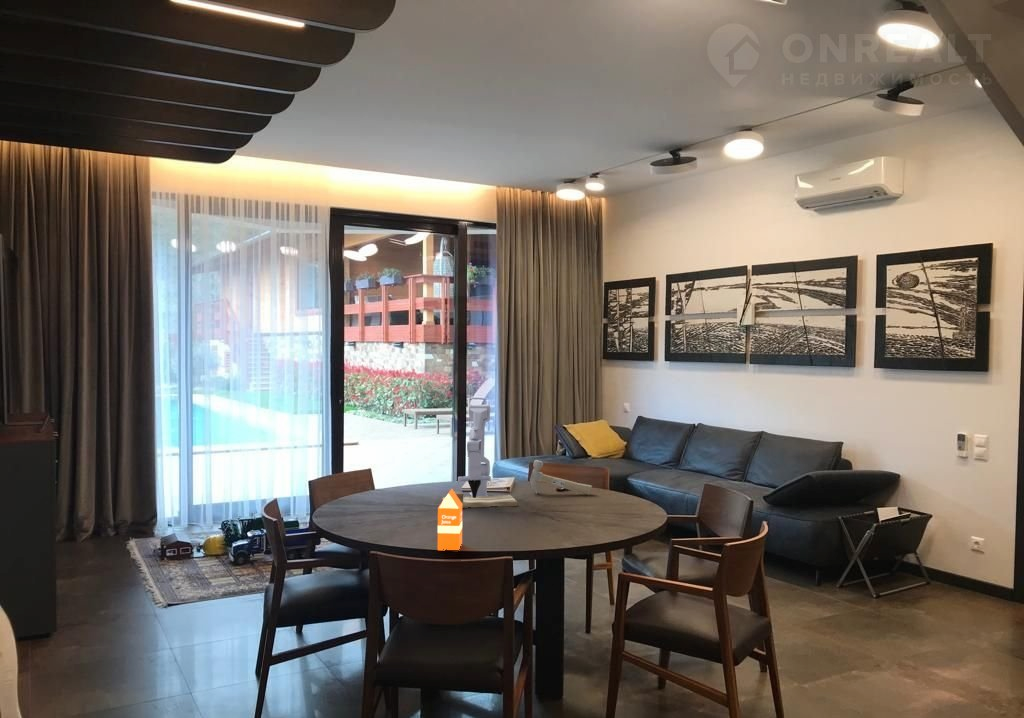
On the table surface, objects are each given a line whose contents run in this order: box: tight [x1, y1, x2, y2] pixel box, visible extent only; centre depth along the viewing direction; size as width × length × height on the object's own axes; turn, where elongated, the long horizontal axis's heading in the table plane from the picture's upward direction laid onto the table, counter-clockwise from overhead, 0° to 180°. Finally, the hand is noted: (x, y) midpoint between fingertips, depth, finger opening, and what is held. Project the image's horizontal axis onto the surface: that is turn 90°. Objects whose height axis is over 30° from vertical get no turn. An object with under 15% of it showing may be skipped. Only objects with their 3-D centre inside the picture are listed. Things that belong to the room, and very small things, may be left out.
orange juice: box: [437, 488, 463, 551], centre depth 247 cm, size 8×9×20 cm
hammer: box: [529, 459, 593, 496], centre depth 343 cm, size 16×5×30 cm
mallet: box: [453, 490, 464, 503], centre depth 316 cm, size 10×5×4 cm, turn 12°
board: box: [441, 494, 518, 509], centre depth 319 cm, size 14×32×2 cm, turn 102°
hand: (474, 497), depth 315 cm, fingers closed
